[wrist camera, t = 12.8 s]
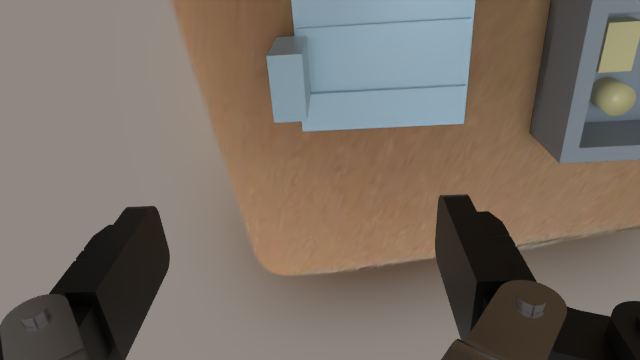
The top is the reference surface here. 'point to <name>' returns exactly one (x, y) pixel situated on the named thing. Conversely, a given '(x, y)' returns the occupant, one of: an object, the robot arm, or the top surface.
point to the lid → (372, 64)
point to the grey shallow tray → (590, 82)
